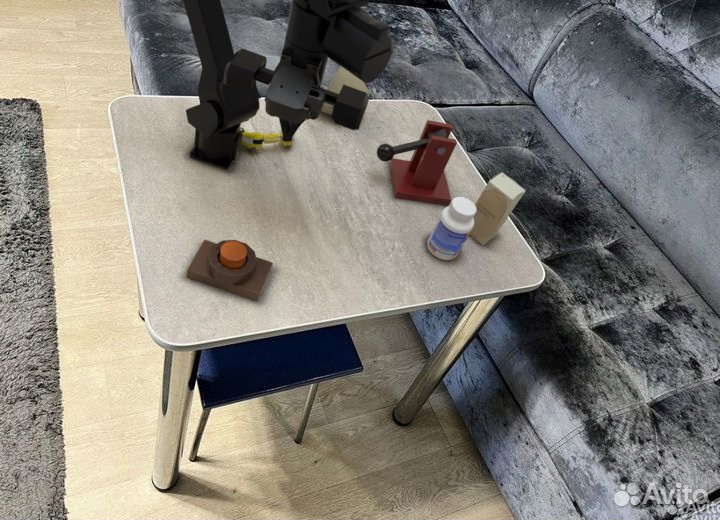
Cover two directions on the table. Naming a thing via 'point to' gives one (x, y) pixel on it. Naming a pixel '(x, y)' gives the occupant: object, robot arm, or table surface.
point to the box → (495, 207)
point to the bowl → (346, 79)
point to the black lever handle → (405, 146)
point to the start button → (233, 254)
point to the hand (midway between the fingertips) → (287, 139)
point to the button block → (230, 271)
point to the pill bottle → (452, 229)
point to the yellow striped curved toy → (262, 139)
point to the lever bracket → (425, 168)
